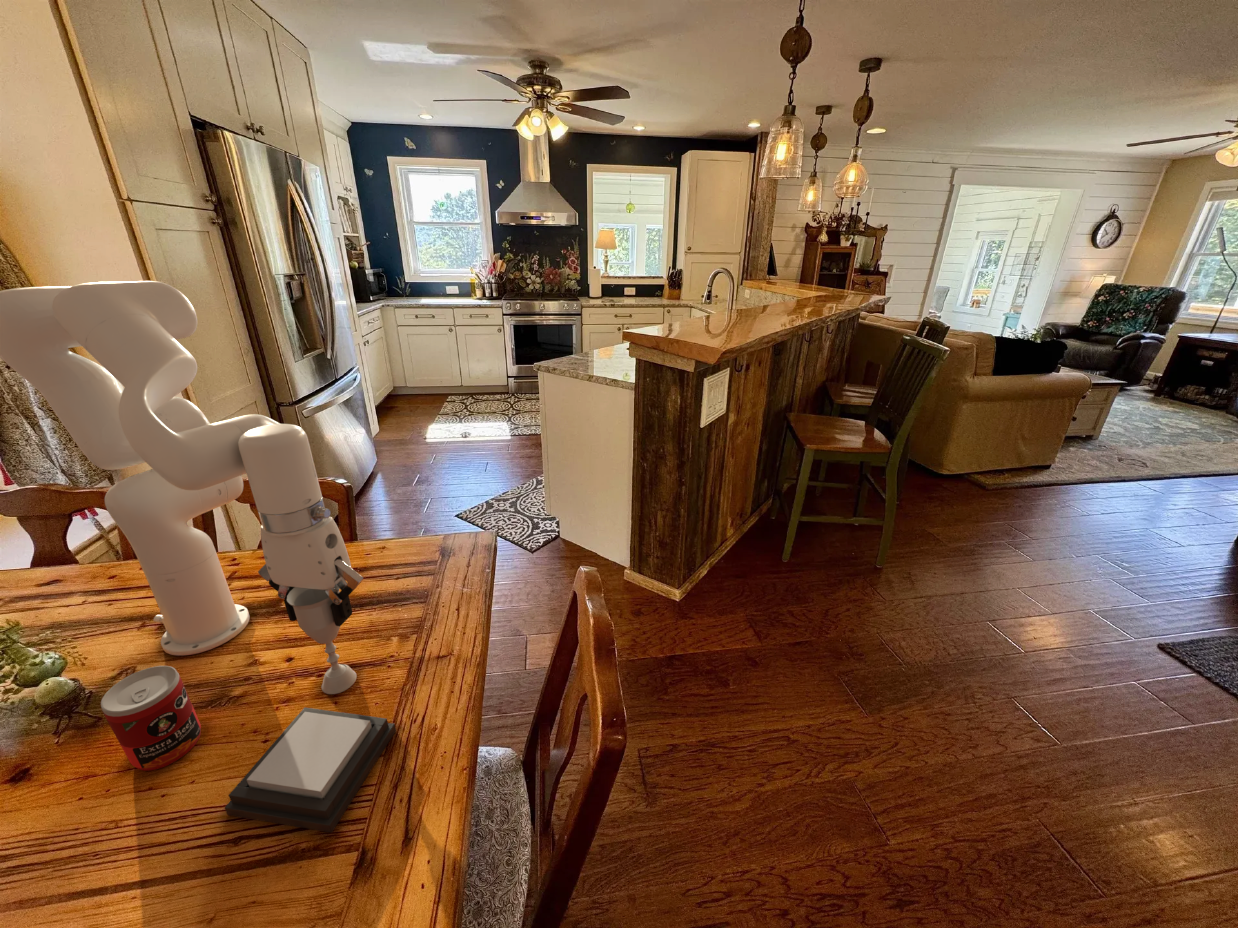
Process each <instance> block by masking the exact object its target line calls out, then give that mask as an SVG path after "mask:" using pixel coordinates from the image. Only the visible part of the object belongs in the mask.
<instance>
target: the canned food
mask: <svg viewBox="0 0 1238 928" xmlns="http://www.w3.org/2000/svg"><path fill="white" fill-rule="evenodd" d="M100 708H101V711H102V713H103V715H104V718H105V719H106V721H107V723H108V725H109V726H110V729H111V730H112V732H113V734H114V736H115V738H116V739H117V741H118V744H119V745H120V747H121V749H122V750H123V752H124V754H125V756H126V758H127V759H128V762H129V763H130V765H131V766H133V767H134V768H136V769H137V770H140V771H145V772H147V771H155V770H158V769H162V768H165V767H167V766H169V765H171V764H173V763H176V762H177V761H178V760H180V759H181V758H183V757H184V756H185V755H187V754H188V753H189V752H190V751H191V750H192V749H193V748H194V747H195V745H197V743H198V742H199V739H200V737H201V732H202V725H201V722H200V720H199V717H198V715H197V713H196V711H195V708H194V705H193V704H192V700H191V698H190V696H189V694H188V691H187V689H186V687H185V684H184V682H183V679H182V677H181V676H180V673H179V672H178V670H177V669H176V668H175V667H173V666H169V665H156V666H152V667H151V666H150V667H147V668H144V669H141V670H138V671H136V672H133V673H131V674H130V675H128V676H126V677H123V679H121V680H119V681H118V682H117V683H115V684H114V685H113V686H112V687H110V688H109V689H108V691H106V693H105V694H104V695H103V696H102V698H101V701H100Z"/></svg>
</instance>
